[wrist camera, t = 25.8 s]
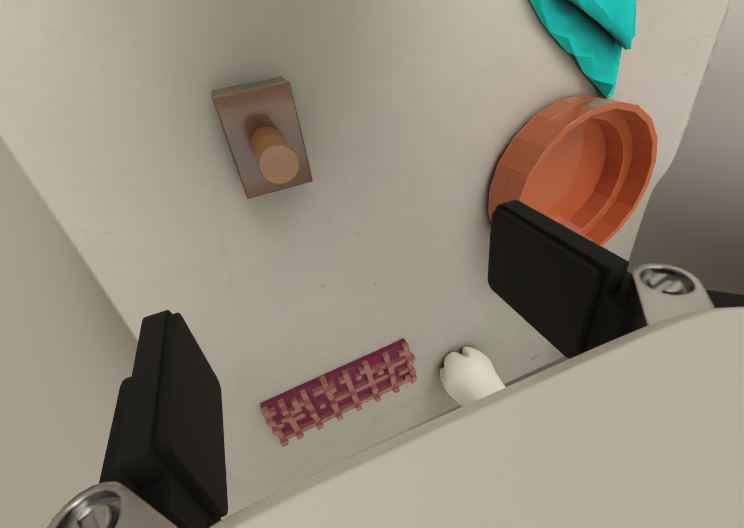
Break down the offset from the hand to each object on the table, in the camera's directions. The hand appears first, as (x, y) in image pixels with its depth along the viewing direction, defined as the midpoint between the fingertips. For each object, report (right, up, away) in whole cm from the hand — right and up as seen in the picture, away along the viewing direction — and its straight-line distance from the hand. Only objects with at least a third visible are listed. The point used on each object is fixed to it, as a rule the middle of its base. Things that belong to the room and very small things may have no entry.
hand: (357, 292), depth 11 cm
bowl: (+20, +10, +31) cm, 39 cm away
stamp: (-8, +11, +18) cm, 22 cm away
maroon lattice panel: (-3, -14, +36) cm, 39 cm away
